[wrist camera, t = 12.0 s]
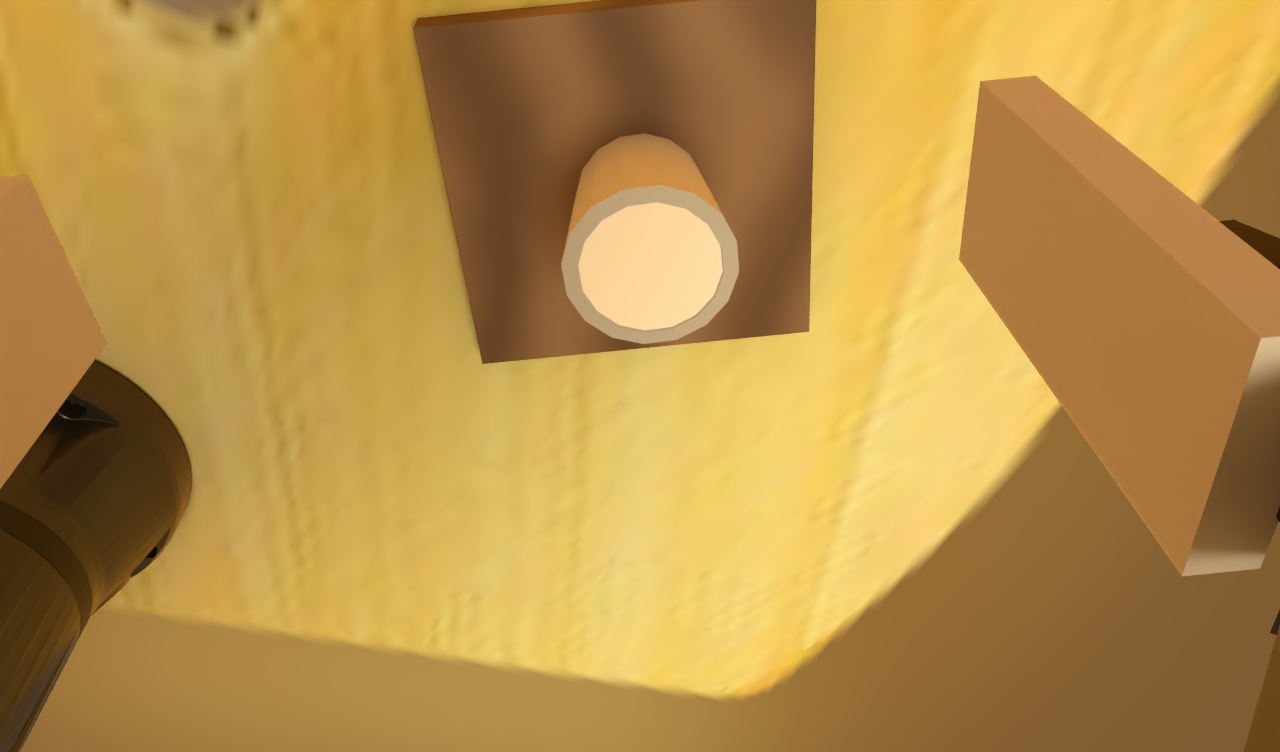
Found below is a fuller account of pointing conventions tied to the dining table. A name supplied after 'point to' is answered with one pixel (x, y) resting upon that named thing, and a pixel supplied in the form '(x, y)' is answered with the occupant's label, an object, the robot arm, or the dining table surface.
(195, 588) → the dining table surface
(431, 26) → the serving board
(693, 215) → the beige cylinder
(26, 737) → the robot arm
